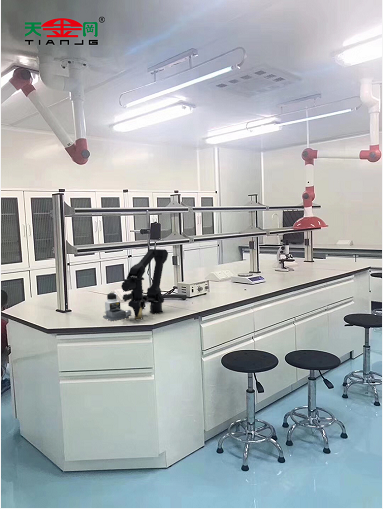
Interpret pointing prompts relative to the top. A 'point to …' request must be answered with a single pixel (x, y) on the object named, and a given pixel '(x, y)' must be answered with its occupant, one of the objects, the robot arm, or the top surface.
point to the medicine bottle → (112, 302)
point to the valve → (139, 314)
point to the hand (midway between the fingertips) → (138, 315)
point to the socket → (117, 314)
